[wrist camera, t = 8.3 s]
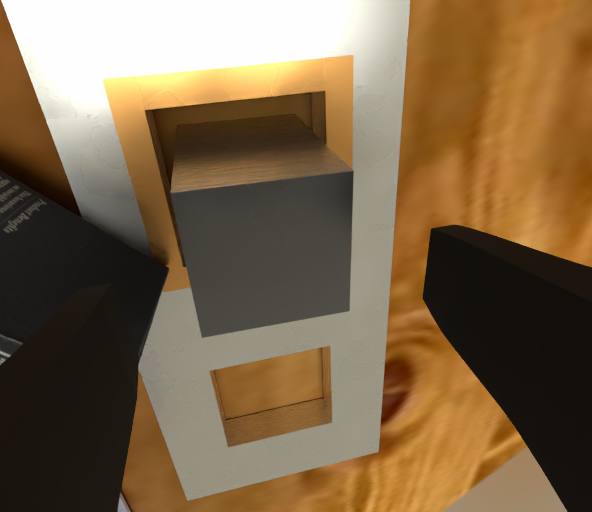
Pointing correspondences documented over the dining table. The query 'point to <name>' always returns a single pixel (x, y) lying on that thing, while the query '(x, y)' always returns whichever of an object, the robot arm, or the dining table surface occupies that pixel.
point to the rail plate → (160, 213)
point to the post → (262, 222)
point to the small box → (64, 267)
